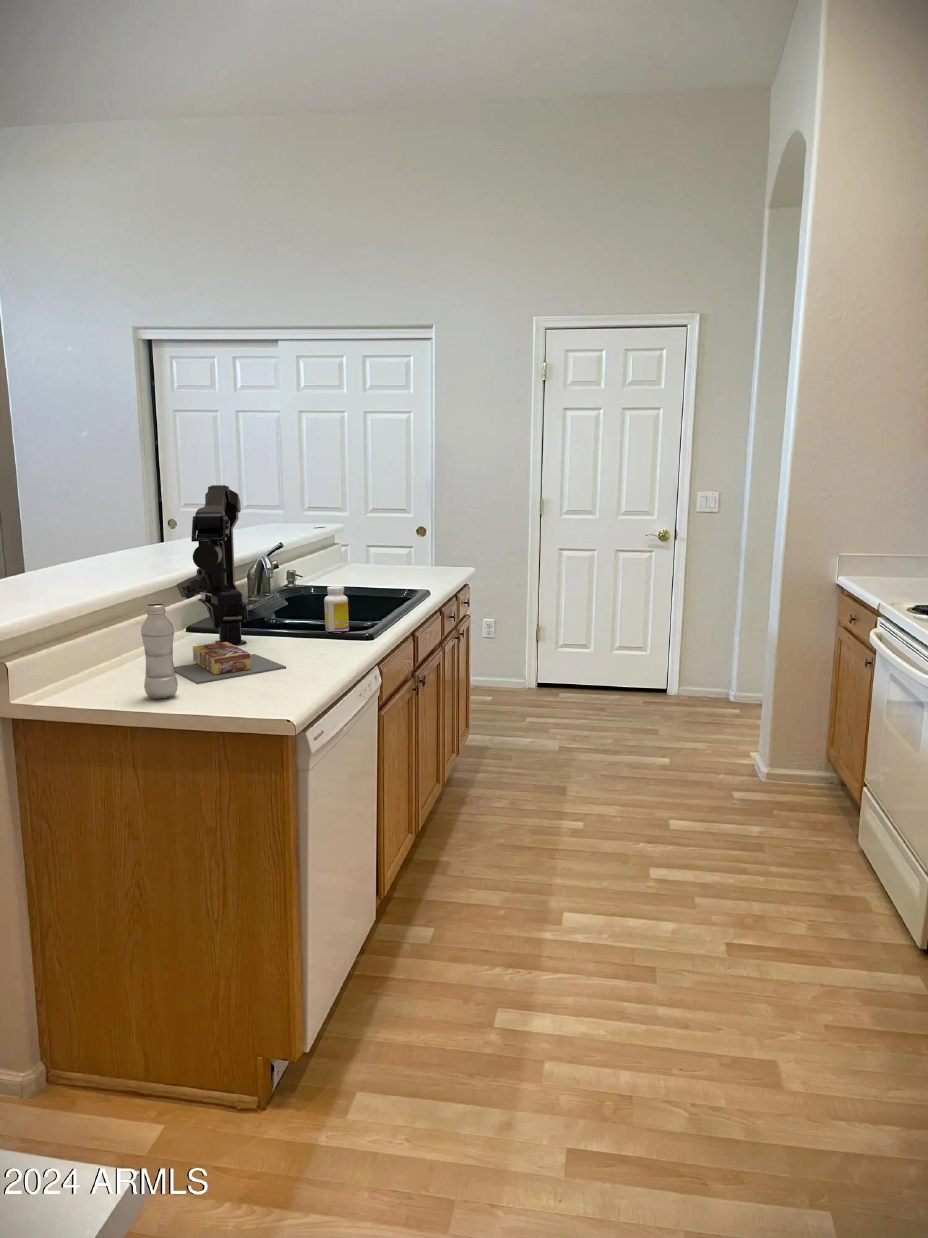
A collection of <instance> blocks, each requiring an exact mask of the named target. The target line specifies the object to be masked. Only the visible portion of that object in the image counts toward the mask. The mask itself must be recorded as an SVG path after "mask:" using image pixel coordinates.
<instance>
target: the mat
mask: <svg viewBox="0 0 928 1238" xmlns="http://www.w3.org/2000/svg"><path fill="white" fill-rule="evenodd" d="M250 661H251V669H249V670H242V671H236V672H230V673H223V674H217V675H215V674H213V673H212V672H210V671H208V670H207V669H205V668H203V667H202V666H200V665H198V664H197V663H195V662H194V663H190V664H183V665H176V666H174V671H175V673H176V674H178V675H179V676H182V677H183V678H185V679H188V680H189V681H190V682H192V683H194V684H196V685H199V684H205V683H210V682H218V681H222V680H226V679H227V680H228V679H232V678H233V679H234V678H238V677H243V676H244V677H245V676H249V675H255V674H262V673H267V672H273V671H278V670H285V669H287V665H283V664H281V663H279V662H276V661H273V660H271V659H269V658H266V657H264V656H261V655H259V654H256V653H252V654H251V653H250Z"/></svg>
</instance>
